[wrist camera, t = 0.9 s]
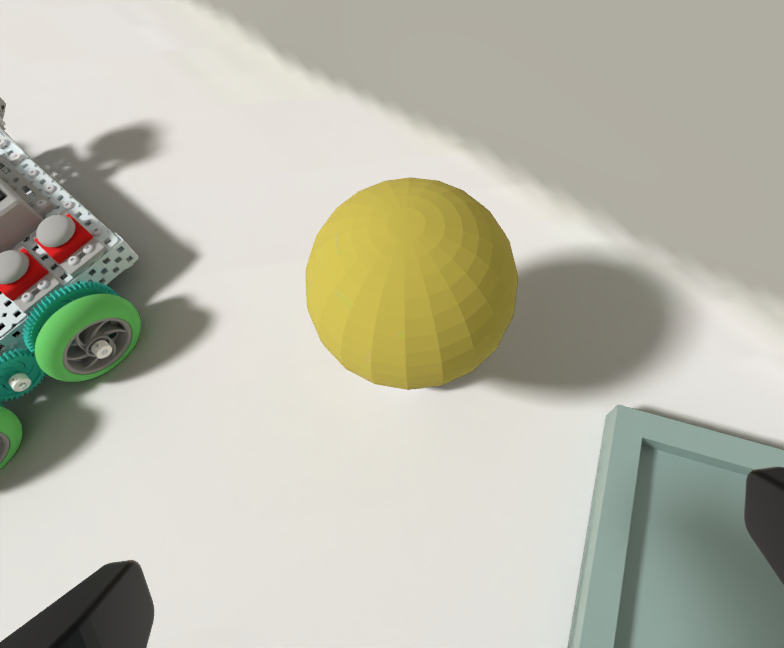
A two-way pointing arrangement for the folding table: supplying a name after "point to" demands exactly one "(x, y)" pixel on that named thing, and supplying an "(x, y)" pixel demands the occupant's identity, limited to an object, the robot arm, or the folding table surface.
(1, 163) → the robot kit
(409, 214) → the light bulb
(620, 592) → the tray
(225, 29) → the folding table surface
